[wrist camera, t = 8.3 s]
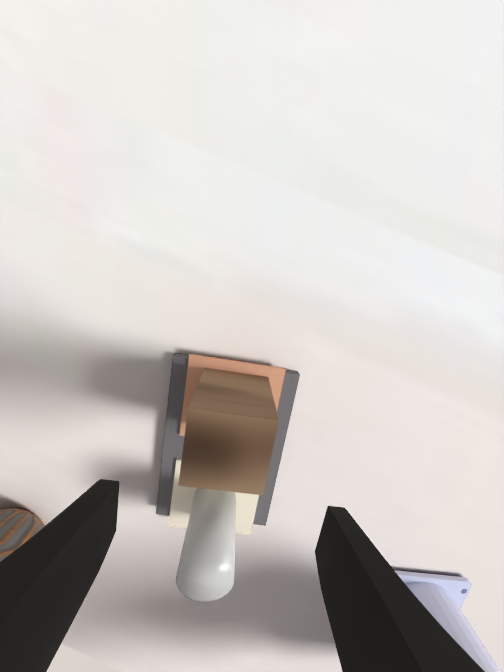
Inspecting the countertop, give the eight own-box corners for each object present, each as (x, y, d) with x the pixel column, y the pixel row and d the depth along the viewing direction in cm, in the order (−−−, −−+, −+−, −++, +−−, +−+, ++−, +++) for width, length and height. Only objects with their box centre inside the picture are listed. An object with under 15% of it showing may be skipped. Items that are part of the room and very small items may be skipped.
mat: (263, 526, 20) (263, 536, 19) (157, 515, 20) (154, 525, 19) (298, 367, 17) (301, 371, 16) (175, 348, 17) (172, 352, 16)
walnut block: (257, 432, 17) (262, 495, 12) (196, 425, 17) (178, 485, 12) (268, 377, 16) (278, 420, 12) (204, 367, 16) (188, 408, 11)
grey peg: (232, 518, 19) (229, 603, 14) (191, 514, 19) (173, 599, 14) (239, 484, 18) (238, 560, 13) (196, 479, 18) (179, 555, 13)
